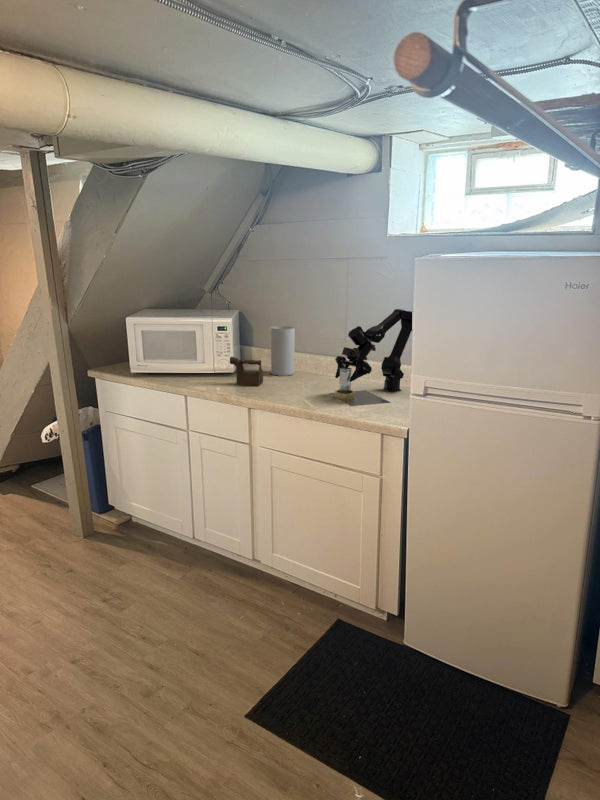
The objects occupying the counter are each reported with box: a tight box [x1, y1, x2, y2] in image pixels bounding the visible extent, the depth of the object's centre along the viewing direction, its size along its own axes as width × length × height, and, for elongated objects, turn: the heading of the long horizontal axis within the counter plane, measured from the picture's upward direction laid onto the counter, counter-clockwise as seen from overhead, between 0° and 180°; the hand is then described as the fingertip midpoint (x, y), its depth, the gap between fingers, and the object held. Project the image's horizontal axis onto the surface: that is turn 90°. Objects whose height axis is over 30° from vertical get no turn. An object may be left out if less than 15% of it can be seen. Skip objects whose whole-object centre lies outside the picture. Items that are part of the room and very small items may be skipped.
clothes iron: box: [229, 356, 264, 387], centre depth 273 cm, size 8×16×13 cm, turn 77°
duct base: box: [328, 389, 392, 407], centre depth 245 cm, size 19×24×3 cm
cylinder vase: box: [270, 325, 296, 377], centre depth 296 cm, size 12×12×25 cm
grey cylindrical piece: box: [338, 367, 353, 394], centre depth 245 cm, size 5×5×13 cm
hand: (342, 379), depth 244 cm, fingers open, 9 cm apart
